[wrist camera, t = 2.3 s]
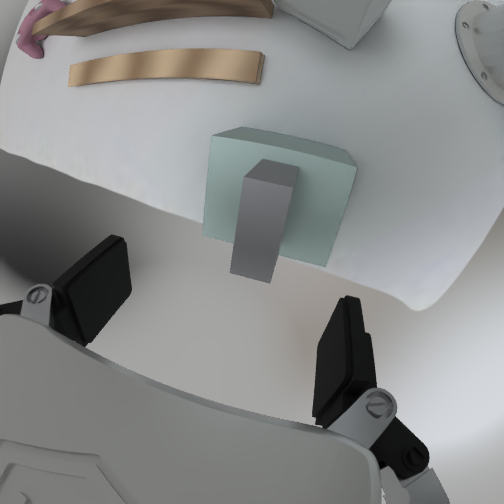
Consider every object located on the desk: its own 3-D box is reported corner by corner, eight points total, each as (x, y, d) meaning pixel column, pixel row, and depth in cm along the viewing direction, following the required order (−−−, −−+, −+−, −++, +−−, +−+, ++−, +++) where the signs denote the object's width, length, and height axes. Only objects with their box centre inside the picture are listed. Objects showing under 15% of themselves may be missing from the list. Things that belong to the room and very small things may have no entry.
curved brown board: (273, 5, 17) (252, -36, 9) (259, 84, 21) (230, 73, 14) (86, 26, 19) (33, 23, 12) (77, 86, 24) (23, 94, 17)
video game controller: (78, 2, 18) (44, -11, 12) (75, 13, 18) (38, -1, 12) (43, 48, 22) (11, 40, 16) (39, 62, 22) (4, 54, 16)
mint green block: (345, 149, 23) (370, 189, 12) (324, 224, 27) (324, 310, 16) (242, 126, 24) (177, 147, 13) (231, 201, 28) (174, 269, 17)
